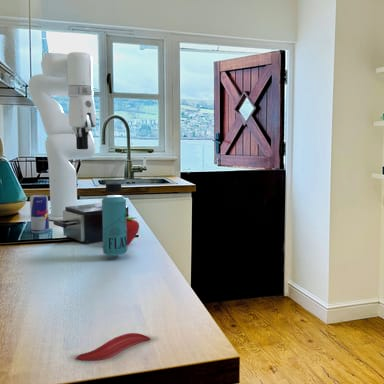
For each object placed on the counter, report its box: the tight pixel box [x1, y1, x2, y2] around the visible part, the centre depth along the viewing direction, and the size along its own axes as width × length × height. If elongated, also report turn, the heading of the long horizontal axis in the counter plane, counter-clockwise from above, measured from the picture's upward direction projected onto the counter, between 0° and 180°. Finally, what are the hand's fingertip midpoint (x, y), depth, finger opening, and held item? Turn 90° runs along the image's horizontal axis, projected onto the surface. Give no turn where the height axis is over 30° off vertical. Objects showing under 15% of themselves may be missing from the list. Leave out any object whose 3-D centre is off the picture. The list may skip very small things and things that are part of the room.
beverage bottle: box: [101, 182, 128, 256], centre depth 126 cm, size 6×7×20 cm
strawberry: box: [126, 211, 140, 246], centre depth 141 cm, size 6×8×10 cm
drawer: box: [52, 210, 85, 242], centre depth 148 cm, size 18×11×8 cm, turn 136°
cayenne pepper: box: [75, 332, 152, 361], centre depth 75 cm, size 12×5×2 cm, turn 119°
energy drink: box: [29, 194, 50, 235], centre depth 156 cm, size 5×5×12 cm
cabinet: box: [65, 202, 129, 245], centre depth 151 cm, size 15×13×10 cm
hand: (82, 149), depth 157 cm, fingers closed
